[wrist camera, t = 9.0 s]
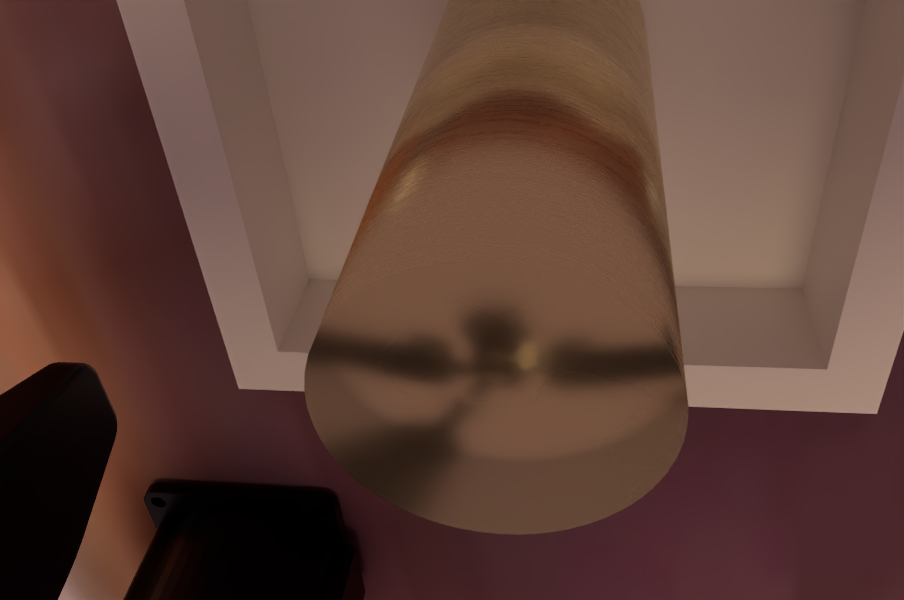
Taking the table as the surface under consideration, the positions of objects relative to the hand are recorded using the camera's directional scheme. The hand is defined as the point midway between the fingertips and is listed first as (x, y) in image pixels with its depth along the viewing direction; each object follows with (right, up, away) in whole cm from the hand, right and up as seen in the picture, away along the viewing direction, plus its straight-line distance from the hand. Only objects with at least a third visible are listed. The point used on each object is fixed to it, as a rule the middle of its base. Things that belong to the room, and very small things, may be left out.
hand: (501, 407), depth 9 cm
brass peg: (+1, +6, +8) cm, 10 cm away
